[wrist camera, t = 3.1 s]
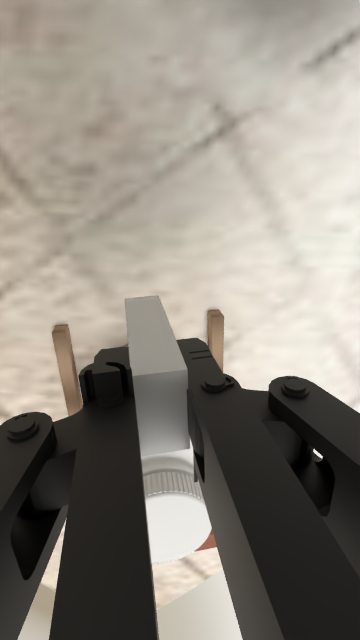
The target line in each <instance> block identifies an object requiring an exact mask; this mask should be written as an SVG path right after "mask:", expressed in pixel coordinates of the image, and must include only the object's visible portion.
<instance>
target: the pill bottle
mask: <svg viewBox="0 0 360 640" xmlns="http://www.w3.org/2000/svg"><path fill="white" fill-rule="evenodd" d="M128 346H129V345H127V346H125V347H128ZM141 461H142V470H143V480H144V491H145V501H146V511H147V521H148V531H149V542H150V552H151V562H152V564H159V563H167V562H171V561H175V560H178V559H181V558H183V557H185V556H187V555H189V554H191V553H192V552H194V551H195V550H196V549H198V548H199V547H200V546H201V545H202V544H203V543H204V542H205V540H206V539H207V538H208V536H209V534H210V532H211V529H212V527H211V523H210V520H209V516H208V513H207V509H206V505H205V502H204V498H203V495H202V491H201V487H200V484H199V480H198V482H195V483H194V462H193V446H192V442H191V439H190V449H186V450H180V451H174V452H168V453H161V454H155V455H149V456H143V457H141Z"/></svg>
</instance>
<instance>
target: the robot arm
mask: <svg viewBox="0 0 360 640" xmlns="http://www.w3.org/2000/svg"><path fill="white" fill-rule="evenodd" d="M125 308H126V320H127V333H128V345H129V346H128V347H119V348H110V349H101V350H100V351H99V353H98V354H97V355H96V356H95V357H94V363H93V364H90V365H88V366H87V367H85V368H84V369H83V370H81V372H80V374H79V382H80V387H81V393H82V398H83V408H82V409H81V410H80V411H78V412H77V413H75V414H73V415H71V416H69V417H67V418H64V419H61V420H58V421H55V422H52V419H51V417H50V416H49V415H47V414H45V413H40V412H30V413H24V414H21V415H18V416H15V417H13V418H11V419H9V420H7V421H6V422H4V423H3V424H2V425H0V640H17V639H18V636H19V634H20V631H21V629H22V626H23V624H24V621H25V619H26V616H27V614H28V612H29V609H30V606H31V604H32V602H33V599H34V597H35V594H36V592H37V589H38V587H39V584H40V582H41V579H42V577H43V574H44V572H45V569H46V567H47V564H48V562H49V560H50V557H51V555H52V552H53V550H54V547H55V545H56V542H57V540H58V537H59V535H60V532H61V530H62V527H63V525H64V522H65V520H66V526H65V533H64V540H63V546H62V553H61V560H60V567H59V574H58V581H57V588H56V595H55V601H54V609H53V615H52V622H51V629H50V636H49V640H159V634H158V624H157V613H156V603H155V593H154V583H153V572H152V562H151V552H150V542H149V531H148V521H147V511H146V501H145V491H144V480H143V470H142V461H141V457H143V456H149V455H155V454H161V453H168V452H174V451H180V450H186V449H190V439H191V442H192V446H193V462H194V483H195V482H198V480H199V484H200V487H201V491H202V495H203V498H204V502H205V505H206V509H207V513H208V516H209V520H210V523H211V527H212V531H213V534H214V538H215V541H216V545H217V548H218V552H219V556H220V559H221V563H222V566H223V570H224V574H225V577H226V581H227V584H228V588H229V592H230V595H231V599H232V602H233V606H234V610H235V613H236V617H237V620H238V624H239V628H240V631H241V635H242V638H243V640H360V413H358V412H357V411H355V410H354V409H352V408H351V407H349V406H348V405H346V404H345V403H343V402H342V401H340V400H339V399H337V398H336V397H334V396H332V395H331V394H329V393H328V392H326V391H325V390H323V389H322V388H320V387H319V386H317V385H316V384H314V383H313V382H310V381H308V380H306V379H303V378H299V377H296V376H284V377H278V378H276V379H274V380H272V381H271V383H270V384H269V391H257V390H247V389H243V388H241V386H240V385H239V383H238V382H237V381H236V380H235V379H234V378H233V377H231V376H229V375H227V374H223V372H222V370H221V369H220V367H219V365H218V364H217V362H216V360H215V358H214V357H213V355H212V353H211V351H210V350H209V348H208V346H207V344H206V343H205V342H203V341H202V340H200V339H198V338H190V339H181V340H176V339H175V336H174V334H173V331H172V329H171V326H170V323H169V321H168V318H167V316H166V313H165V311H164V308H163V306H162V303H161V301H160V298H159V296H148V297H137V298H127V299H125ZM313 449H315V450H316V451H317V452H319V453H320V454H321V455H322V456H323V459H321V458H320V457H318V456H317V455H316V454H315V453H314V452H313ZM66 517H67V519H66Z"/></svg>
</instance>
